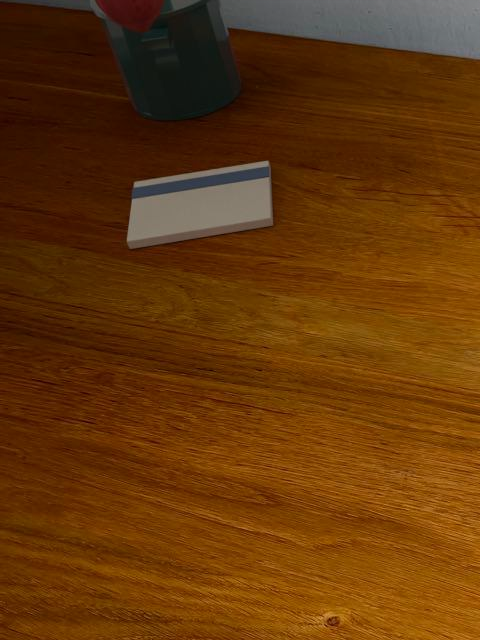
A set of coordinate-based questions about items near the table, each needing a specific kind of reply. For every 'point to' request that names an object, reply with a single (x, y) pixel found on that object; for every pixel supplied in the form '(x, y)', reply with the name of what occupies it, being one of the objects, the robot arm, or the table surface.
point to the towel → (200, 204)
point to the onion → (132, 12)
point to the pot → (177, 64)
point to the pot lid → (174, 5)
